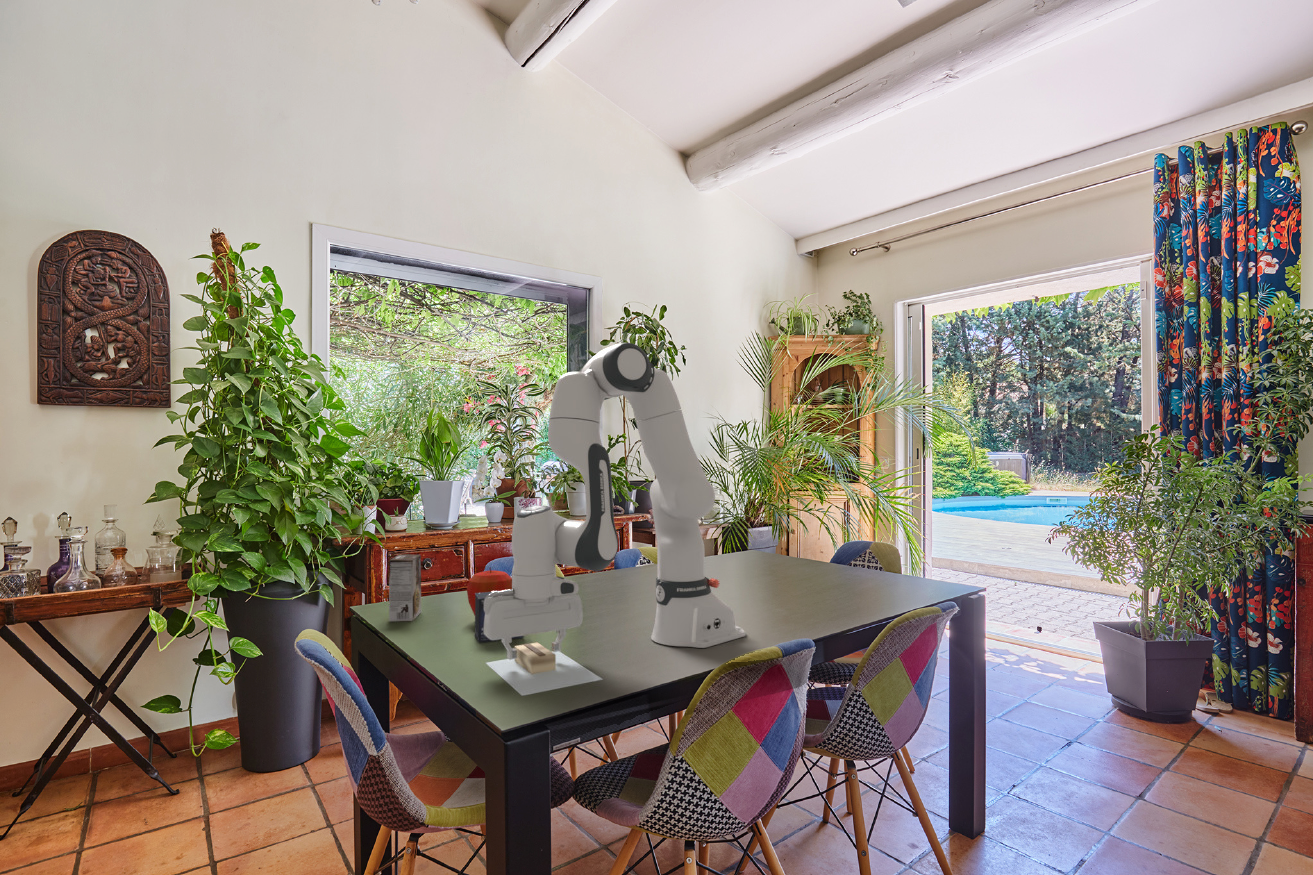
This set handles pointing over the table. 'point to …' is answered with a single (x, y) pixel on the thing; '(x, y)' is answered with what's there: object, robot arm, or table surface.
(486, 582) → the apple
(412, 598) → the coffee box
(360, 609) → the table surface
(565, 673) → the rubber mat
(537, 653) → the slotted wooden box
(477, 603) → the small box
